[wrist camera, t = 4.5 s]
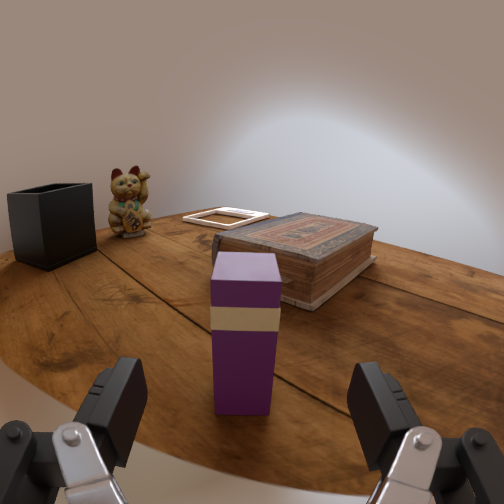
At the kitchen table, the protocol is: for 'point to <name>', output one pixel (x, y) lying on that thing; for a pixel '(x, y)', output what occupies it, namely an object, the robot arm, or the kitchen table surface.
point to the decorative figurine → (129, 202)
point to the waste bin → (52, 224)
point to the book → (305, 253)
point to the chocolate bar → (244, 331)
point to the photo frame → (248, 214)
